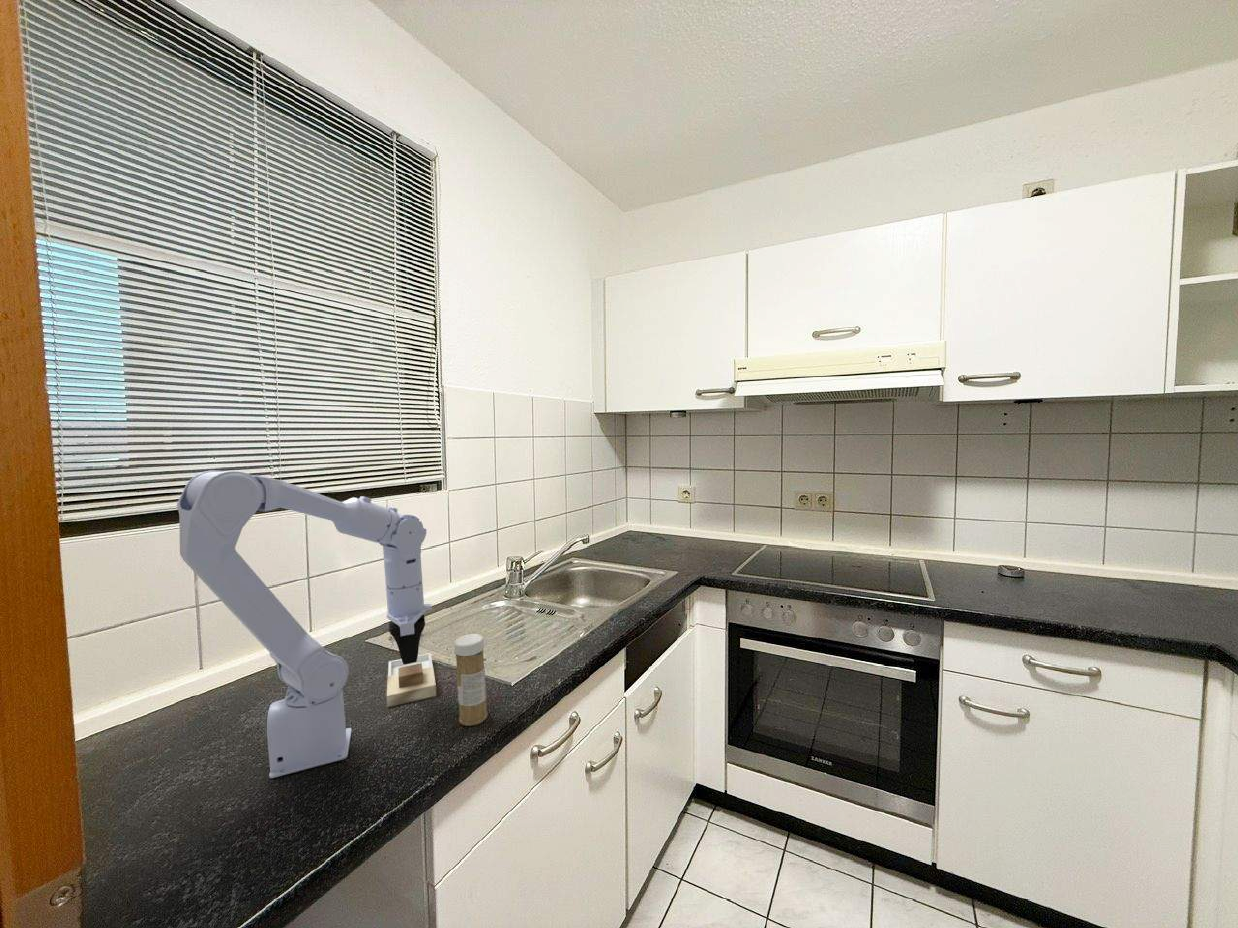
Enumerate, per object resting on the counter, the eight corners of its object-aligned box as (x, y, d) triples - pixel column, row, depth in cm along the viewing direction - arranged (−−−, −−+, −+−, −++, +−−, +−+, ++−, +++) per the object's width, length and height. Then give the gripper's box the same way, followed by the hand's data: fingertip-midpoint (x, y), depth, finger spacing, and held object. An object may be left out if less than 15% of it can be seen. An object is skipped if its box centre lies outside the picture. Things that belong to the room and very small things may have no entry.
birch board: (387, 707, 85) (386, 695, 85) (388, 686, 93) (387, 676, 93) (436, 695, 89) (435, 684, 88) (433, 676, 96) (433, 666, 96)
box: (388, 685, 93) (387, 678, 93) (389, 668, 100) (388, 661, 100) (433, 675, 96) (433, 668, 96) (431, 659, 103) (430, 652, 103)
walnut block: (399, 687, 88) (398, 677, 88) (399, 678, 91) (398, 667, 91) (423, 682, 89) (422, 671, 89) (422, 673, 93) (421, 662, 93)
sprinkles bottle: (462, 712, 83) (457, 634, 82) (490, 710, 83) (485, 631, 82) (456, 728, 78) (450, 645, 77) (485, 725, 78) (480, 643, 78)
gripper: (432, 591, 79) (437, 673, 80) (427, 570, 92) (432, 641, 93) (383, 599, 76) (389, 684, 77) (385, 576, 89) (391, 649, 90)
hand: (409, 661), depth 85 cm, fingers closed
